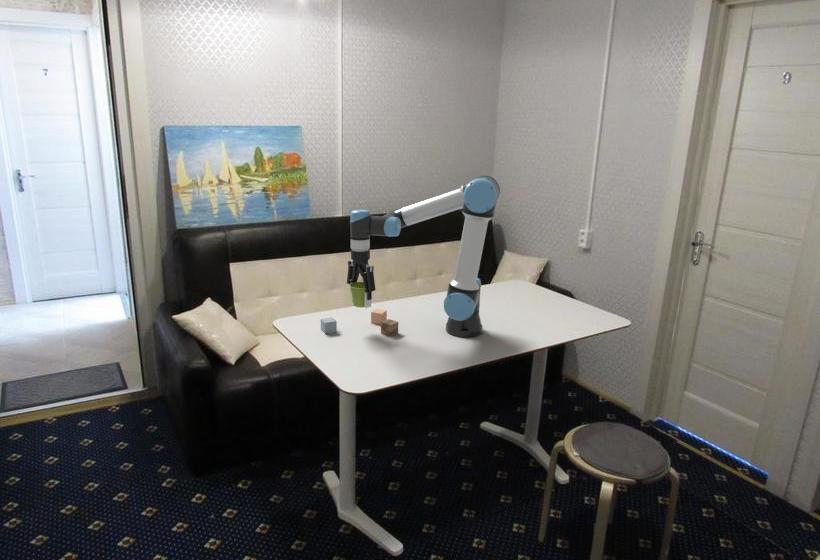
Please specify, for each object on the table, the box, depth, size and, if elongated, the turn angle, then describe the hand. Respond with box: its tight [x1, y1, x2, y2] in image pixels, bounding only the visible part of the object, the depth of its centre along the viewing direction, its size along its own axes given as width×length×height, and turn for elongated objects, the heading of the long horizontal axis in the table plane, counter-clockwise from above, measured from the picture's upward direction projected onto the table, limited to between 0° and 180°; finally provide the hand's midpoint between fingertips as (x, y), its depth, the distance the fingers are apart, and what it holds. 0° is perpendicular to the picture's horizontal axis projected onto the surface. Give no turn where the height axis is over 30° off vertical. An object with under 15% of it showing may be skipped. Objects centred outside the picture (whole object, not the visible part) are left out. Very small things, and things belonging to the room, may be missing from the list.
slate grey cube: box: [320, 317, 338, 335], centre depth 237 cm, size 5×5×5 cm
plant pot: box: [348, 281, 369, 308], centre depth 234 cm, size 9×9×9 cm
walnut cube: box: [380, 318, 399, 337], centre depth 236 cm, size 5×5×5 cm
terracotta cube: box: [370, 308, 388, 326], centre depth 249 cm, size 5×5×5 cm
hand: (361, 304), depth 235 cm, fingers closed on plant pot, 8 cm apart
